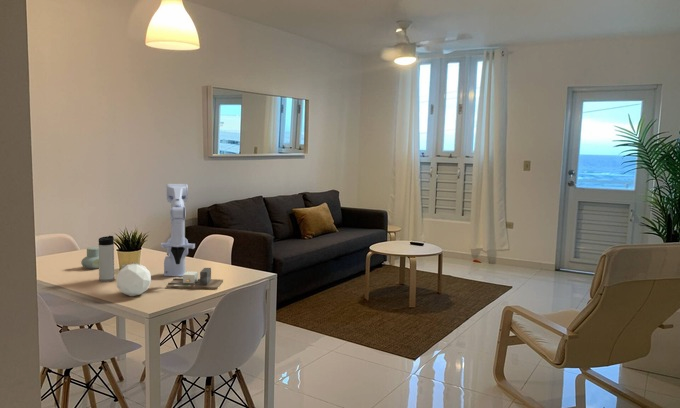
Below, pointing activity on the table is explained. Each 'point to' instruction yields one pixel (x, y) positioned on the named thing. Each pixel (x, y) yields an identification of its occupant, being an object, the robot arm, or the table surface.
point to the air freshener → (91, 258)
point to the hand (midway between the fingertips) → (177, 263)
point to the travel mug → (106, 259)
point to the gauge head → (190, 277)
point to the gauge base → (202, 283)
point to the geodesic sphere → (133, 279)
